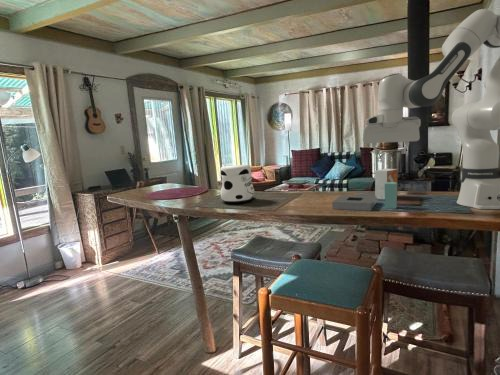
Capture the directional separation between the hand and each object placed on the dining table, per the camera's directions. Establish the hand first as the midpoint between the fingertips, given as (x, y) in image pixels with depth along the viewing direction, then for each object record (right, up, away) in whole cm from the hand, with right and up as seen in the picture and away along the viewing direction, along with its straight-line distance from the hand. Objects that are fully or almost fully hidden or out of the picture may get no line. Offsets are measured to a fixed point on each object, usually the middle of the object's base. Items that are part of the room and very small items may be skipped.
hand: (390, 154), depth 126 cm
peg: (+2, -21, +3) cm, 22 cm away
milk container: (-61, -21, +39) cm, 75 cm away
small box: (+8, -18, +22) cm, 29 cm away
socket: (-10, -21, +10) cm, 26 cm away
